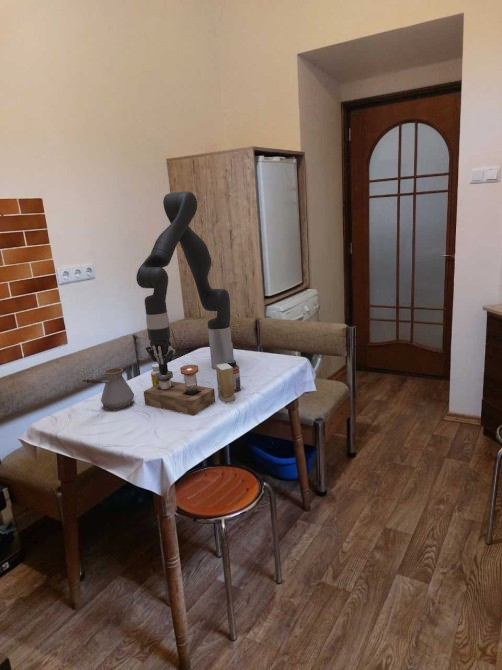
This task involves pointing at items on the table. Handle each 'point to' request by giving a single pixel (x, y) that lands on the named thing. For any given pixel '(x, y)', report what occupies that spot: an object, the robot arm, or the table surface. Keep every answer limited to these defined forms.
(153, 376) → the supplement bottle
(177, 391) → the socket board
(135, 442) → the table surface
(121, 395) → the coffee pot
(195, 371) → the plug rust
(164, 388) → the plug grey
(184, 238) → the robot arm
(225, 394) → the skincare box
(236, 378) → the supplement bottle
